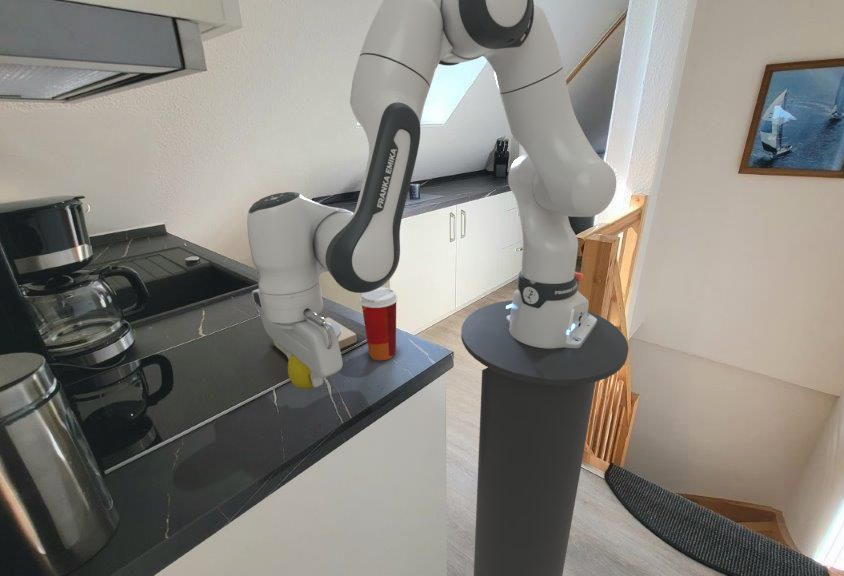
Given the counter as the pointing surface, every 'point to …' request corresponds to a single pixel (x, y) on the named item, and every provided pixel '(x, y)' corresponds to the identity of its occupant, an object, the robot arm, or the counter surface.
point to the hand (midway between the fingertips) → (306, 375)
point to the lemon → (299, 373)
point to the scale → (342, 334)
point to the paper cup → (380, 322)
